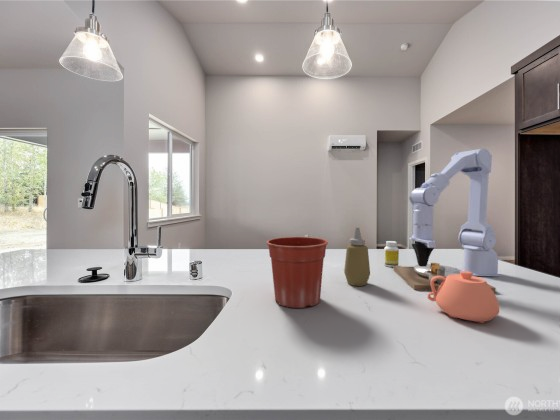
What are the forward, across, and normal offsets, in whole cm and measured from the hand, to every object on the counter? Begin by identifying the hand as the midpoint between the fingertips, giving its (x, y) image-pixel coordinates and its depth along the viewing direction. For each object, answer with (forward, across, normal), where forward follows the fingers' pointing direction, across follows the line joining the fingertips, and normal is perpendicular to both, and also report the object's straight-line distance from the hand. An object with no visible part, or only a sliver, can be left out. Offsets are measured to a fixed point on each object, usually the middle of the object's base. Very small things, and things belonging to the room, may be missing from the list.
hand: (422, 265), depth 88 cm
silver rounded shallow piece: (+3, -1, +5) cm, 5 cm away
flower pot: (+5, +21, -40) cm, 45 cm away
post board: (+5, -2, +6) cm, 8 cm away
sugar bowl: (+5, +25, -1) cm, 26 cm away
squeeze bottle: (+5, +5, -22) cm, 23 cm away
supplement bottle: (+5, -20, -4) cm, 21 cm away
